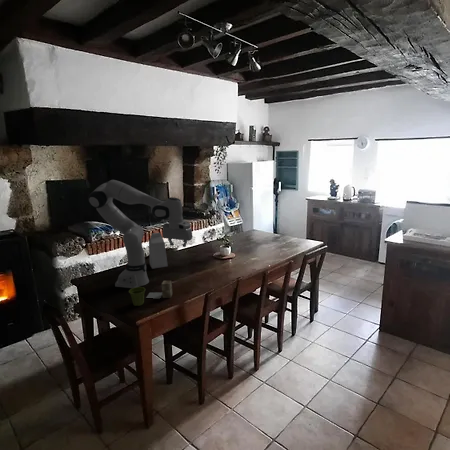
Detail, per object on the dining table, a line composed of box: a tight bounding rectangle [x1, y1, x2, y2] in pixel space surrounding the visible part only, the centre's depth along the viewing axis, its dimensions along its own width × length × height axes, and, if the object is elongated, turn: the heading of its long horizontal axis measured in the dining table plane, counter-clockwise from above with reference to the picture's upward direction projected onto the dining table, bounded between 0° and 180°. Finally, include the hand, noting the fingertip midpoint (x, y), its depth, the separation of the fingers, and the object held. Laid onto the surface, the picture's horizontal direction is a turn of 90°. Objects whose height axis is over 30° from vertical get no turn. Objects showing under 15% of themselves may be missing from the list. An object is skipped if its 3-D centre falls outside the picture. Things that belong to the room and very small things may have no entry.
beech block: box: [161, 280, 173, 299], centre depth 202 cm, size 5×5×9 cm
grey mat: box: [145, 292, 163, 300], centre depth 203 cm, size 9×8×1 cm
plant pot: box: [128, 286, 146, 307], centre depth 193 cm, size 9×9×9 cm
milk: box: [148, 232, 169, 270], centre depth 254 cm, size 12×12×26 cm
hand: (178, 246), depth 201 cm, fingers open, 8 cm apart
